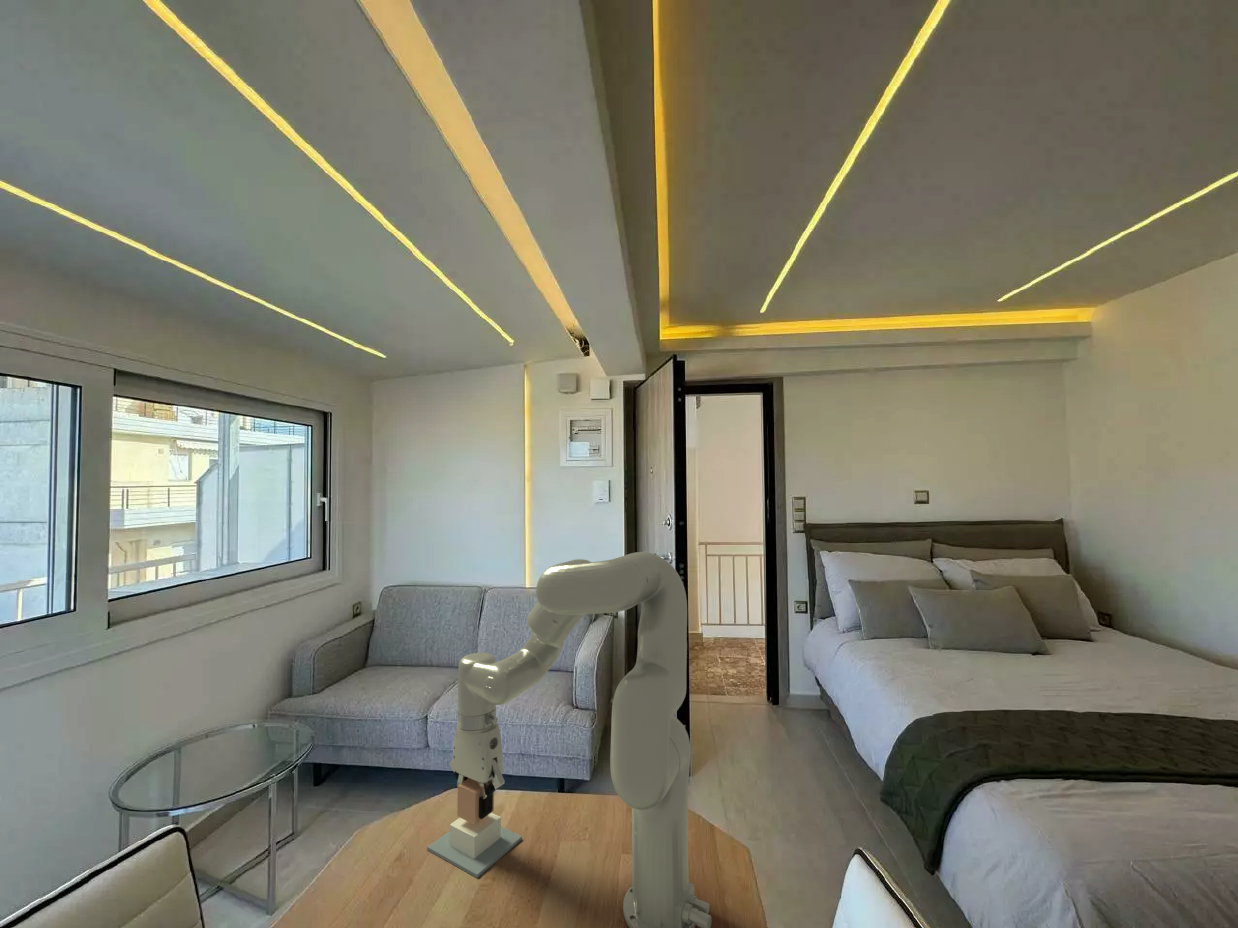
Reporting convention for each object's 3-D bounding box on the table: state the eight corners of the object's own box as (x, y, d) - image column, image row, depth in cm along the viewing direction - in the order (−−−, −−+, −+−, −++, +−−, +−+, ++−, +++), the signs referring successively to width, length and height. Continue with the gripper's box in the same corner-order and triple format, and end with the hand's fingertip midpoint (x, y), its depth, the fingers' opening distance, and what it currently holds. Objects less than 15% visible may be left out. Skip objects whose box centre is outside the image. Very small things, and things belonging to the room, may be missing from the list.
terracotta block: (493, 810, 101) (494, 780, 102) (474, 824, 97) (475, 792, 97) (476, 802, 104) (476, 773, 104) (457, 816, 100) (457, 785, 100)
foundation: (521, 839, 102) (522, 815, 102) (477, 877, 91) (477, 851, 92) (473, 816, 109) (474, 794, 109) (427, 849, 99) (427, 825, 99)
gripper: (520, 720, 100) (520, 814, 99) (462, 701, 109) (461, 788, 108) (493, 735, 94) (492, 836, 93) (434, 715, 103) (432, 806, 102)
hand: (475, 809), depth 101 cm, fingers closed on terracotta block, 4 cm apart
